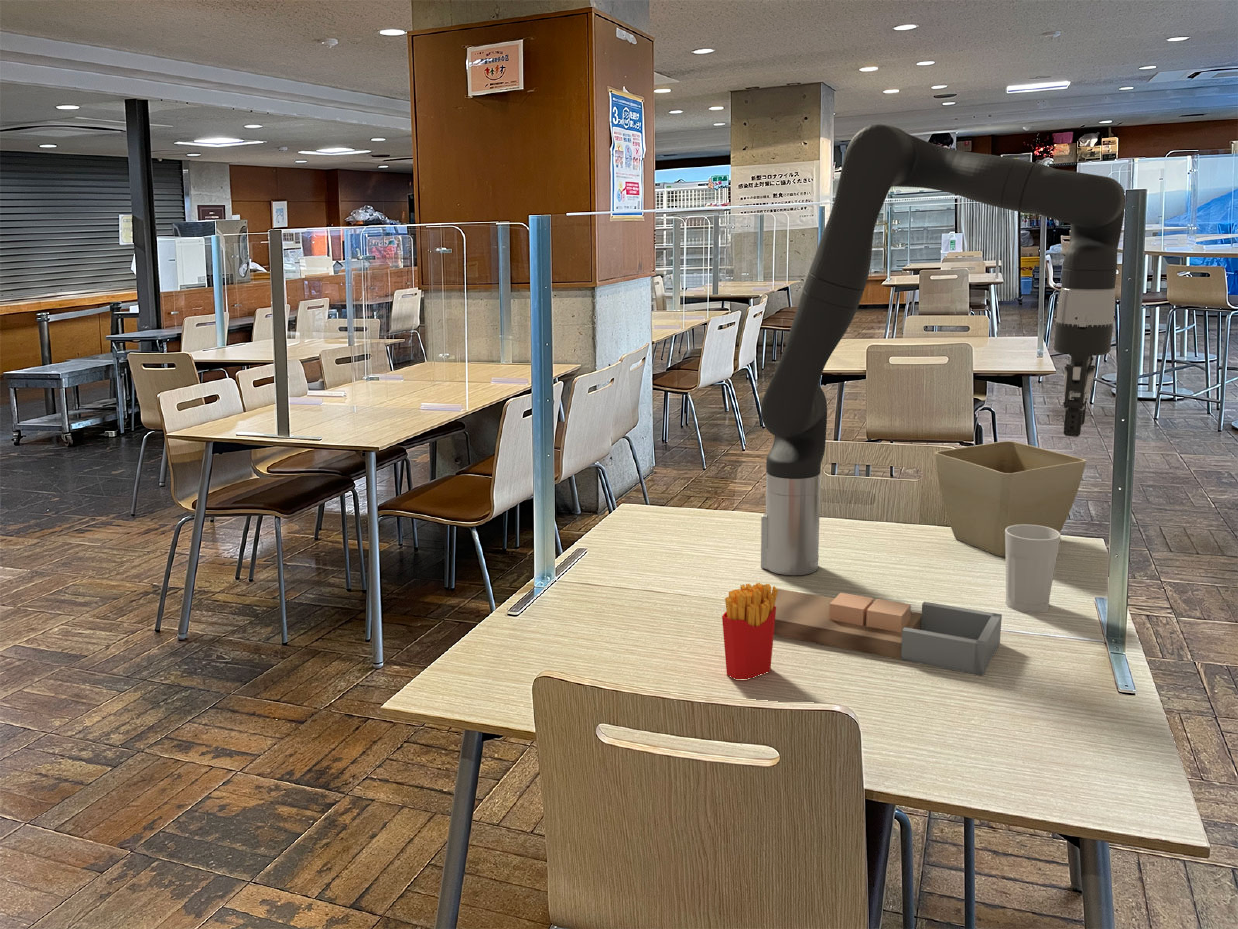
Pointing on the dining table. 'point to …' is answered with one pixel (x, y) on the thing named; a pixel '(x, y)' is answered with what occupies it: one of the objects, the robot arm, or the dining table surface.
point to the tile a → (850, 608)
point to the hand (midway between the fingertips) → (1074, 430)
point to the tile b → (888, 615)
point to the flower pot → (1005, 490)
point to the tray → (953, 638)
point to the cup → (1030, 566)
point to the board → (833, 626)
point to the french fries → (749, 630)
